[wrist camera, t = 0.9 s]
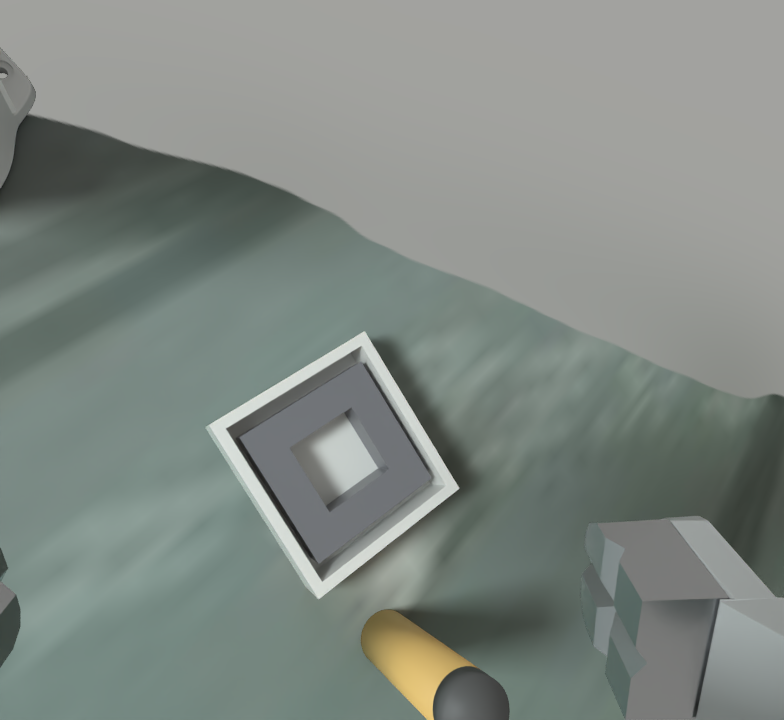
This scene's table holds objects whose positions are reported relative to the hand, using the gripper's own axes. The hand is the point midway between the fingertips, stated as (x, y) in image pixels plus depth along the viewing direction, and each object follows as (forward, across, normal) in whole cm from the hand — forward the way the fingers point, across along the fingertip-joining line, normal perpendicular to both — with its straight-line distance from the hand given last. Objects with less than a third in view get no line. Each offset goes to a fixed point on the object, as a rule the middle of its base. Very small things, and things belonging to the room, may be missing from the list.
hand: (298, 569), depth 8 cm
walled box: (+34, +4, +17) cm, 38 cm away
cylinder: (+29, 0, +30) cm, 42 cm away
